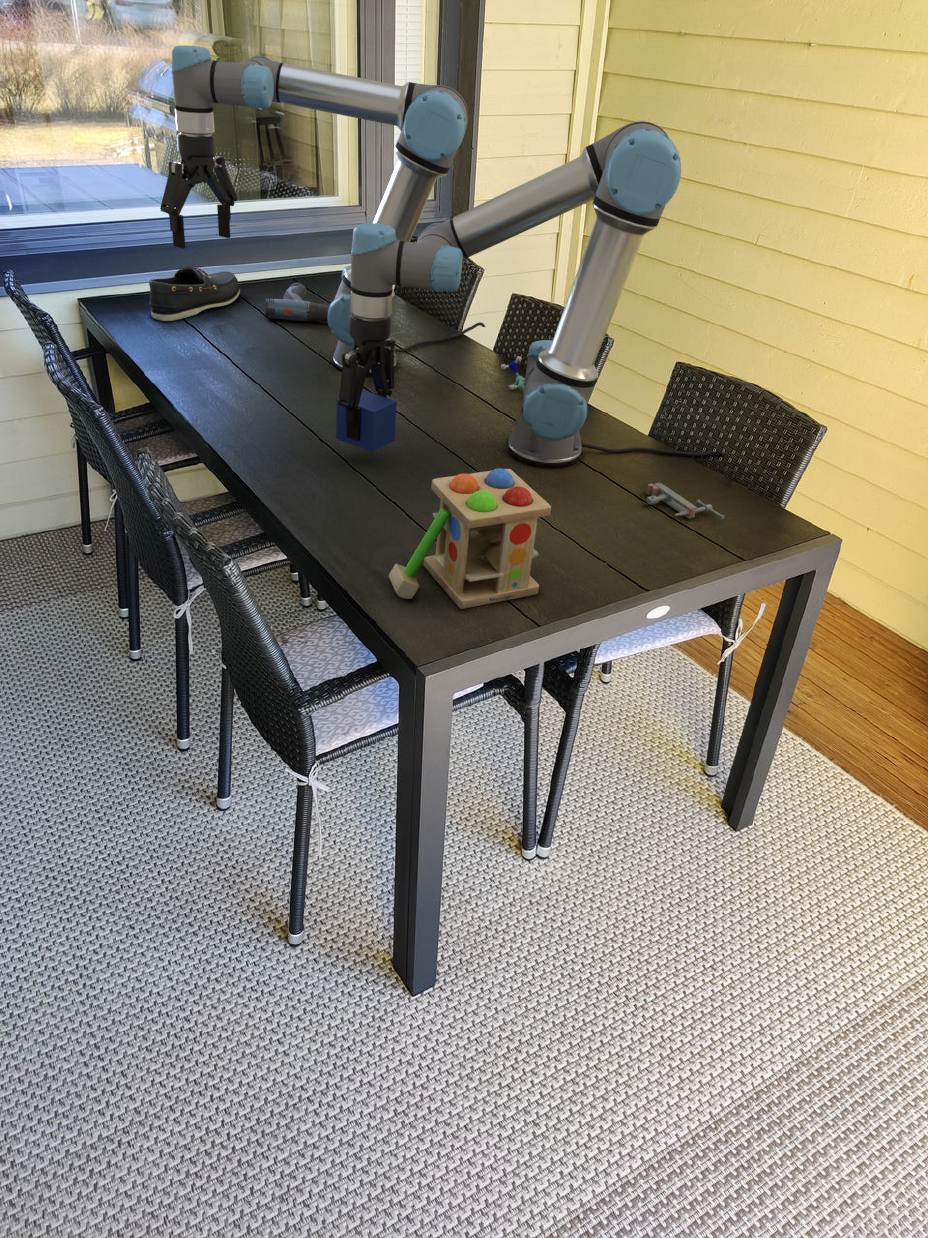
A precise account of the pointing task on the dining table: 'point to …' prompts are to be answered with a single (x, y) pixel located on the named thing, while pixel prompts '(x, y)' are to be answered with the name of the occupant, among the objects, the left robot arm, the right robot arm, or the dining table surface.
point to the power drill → (295, 306)
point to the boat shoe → (191, 293)
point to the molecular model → (519, 378)
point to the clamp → (657, 495)
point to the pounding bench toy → (479, 539)
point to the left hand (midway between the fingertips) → (202, 241)
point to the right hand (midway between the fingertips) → (365, 431)
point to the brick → (370, 422)
